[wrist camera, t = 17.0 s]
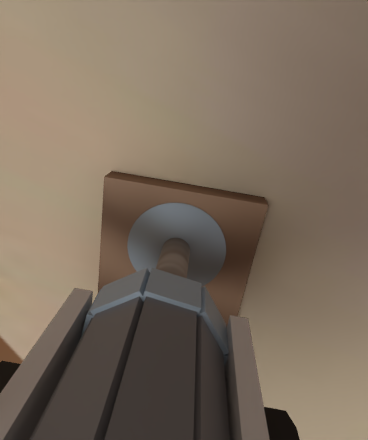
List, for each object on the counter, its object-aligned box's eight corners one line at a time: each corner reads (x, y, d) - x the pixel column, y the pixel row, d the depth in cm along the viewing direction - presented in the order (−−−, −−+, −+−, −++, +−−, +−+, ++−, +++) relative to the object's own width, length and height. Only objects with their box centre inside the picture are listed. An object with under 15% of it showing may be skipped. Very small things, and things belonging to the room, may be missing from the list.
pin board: (111, 171, 20) (65, 205, 13) (264, 197, 19) (289, 244, 13) (99, 371, 27) (64, 456, 20) (211, 391, 26) (212, 483, 20)
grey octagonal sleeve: (186, 251, 12) (165, 437, 5) (241, 352, 13) (278, 588, 7) (69, 300, 13) (-65, 501, 6) (134, 388, 15) (80, 616, 8)
